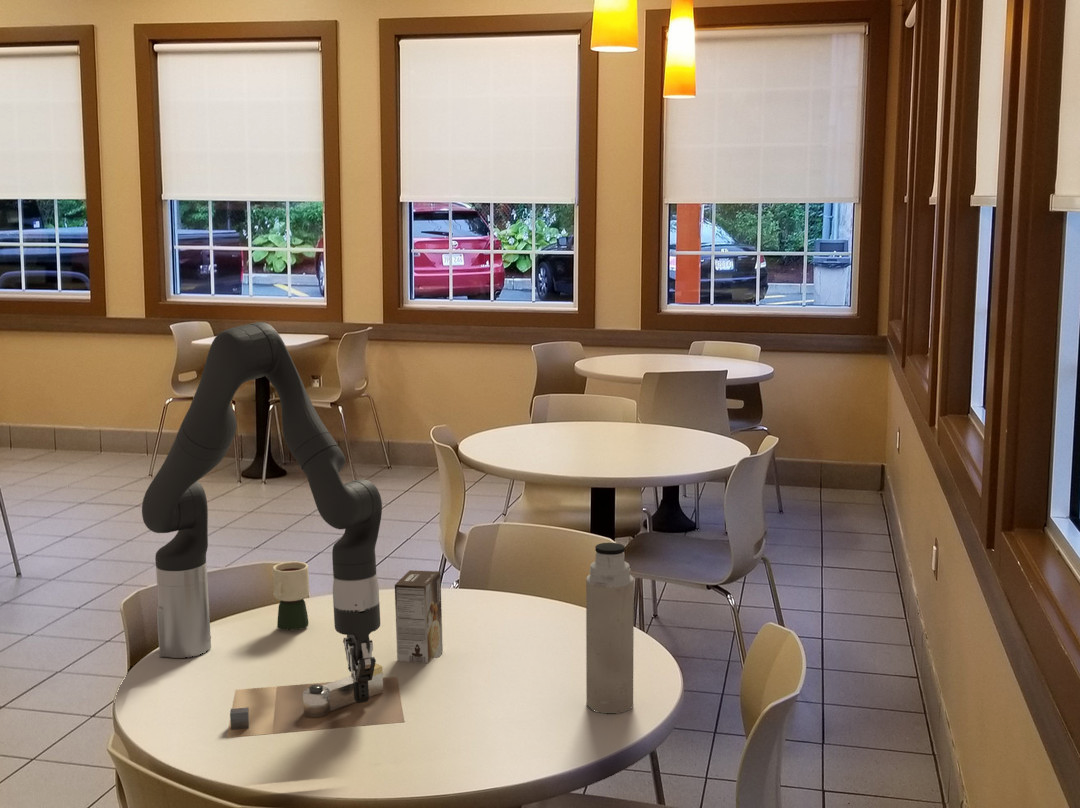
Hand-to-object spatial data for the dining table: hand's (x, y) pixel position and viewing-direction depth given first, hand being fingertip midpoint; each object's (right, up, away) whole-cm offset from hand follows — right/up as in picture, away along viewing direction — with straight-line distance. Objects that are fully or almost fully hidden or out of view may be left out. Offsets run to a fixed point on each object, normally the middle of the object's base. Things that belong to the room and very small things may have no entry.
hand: (361, 700), depth 192 cm
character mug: (-20, +4, +41) cm, 46 cm away
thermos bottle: (+42, -2, +4) cm, 42 cm away
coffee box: (+7, +1, +24) cm, 25 cm away
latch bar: (-3, -1, +2) cm, 4 cm away
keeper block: (-19, -2, -7) cm, 20 cm away
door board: (-8, -2, +2) cm, 8 cm away
